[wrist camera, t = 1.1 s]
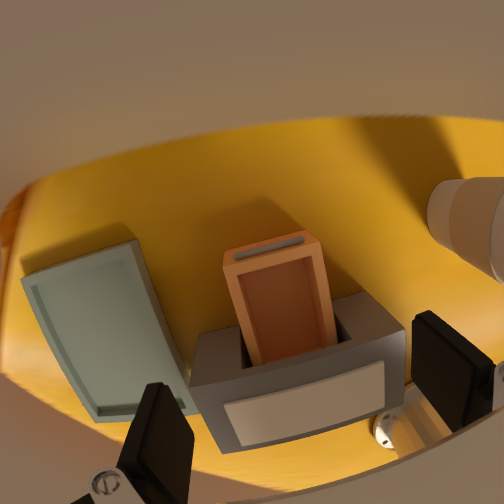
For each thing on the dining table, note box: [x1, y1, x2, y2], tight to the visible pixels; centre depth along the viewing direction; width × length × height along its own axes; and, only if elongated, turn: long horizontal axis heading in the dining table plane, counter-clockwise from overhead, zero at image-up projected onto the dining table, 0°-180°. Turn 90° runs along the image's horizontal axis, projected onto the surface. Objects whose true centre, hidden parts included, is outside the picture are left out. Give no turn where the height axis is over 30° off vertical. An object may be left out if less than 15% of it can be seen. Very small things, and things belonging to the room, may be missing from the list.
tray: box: [20, 239, 200, 423], centre depth 27 cm, size 18×13×2 cm
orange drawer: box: [222, 230, 338, 367], centre depth 25 cm, size 12×7×5 cm, turn 15°
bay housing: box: [188, 290, 406, 454], centre depth 25 cm, size 16×8×8 cm, turn 104°
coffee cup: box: [427, 177, 504, 285], centre depth 19 cm, size 9×9×15 cm
